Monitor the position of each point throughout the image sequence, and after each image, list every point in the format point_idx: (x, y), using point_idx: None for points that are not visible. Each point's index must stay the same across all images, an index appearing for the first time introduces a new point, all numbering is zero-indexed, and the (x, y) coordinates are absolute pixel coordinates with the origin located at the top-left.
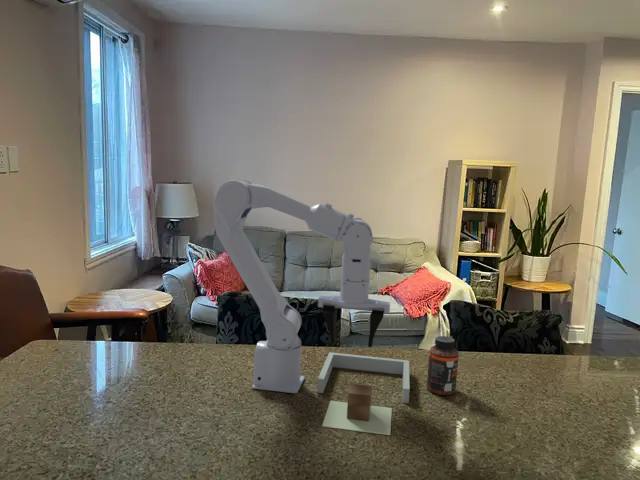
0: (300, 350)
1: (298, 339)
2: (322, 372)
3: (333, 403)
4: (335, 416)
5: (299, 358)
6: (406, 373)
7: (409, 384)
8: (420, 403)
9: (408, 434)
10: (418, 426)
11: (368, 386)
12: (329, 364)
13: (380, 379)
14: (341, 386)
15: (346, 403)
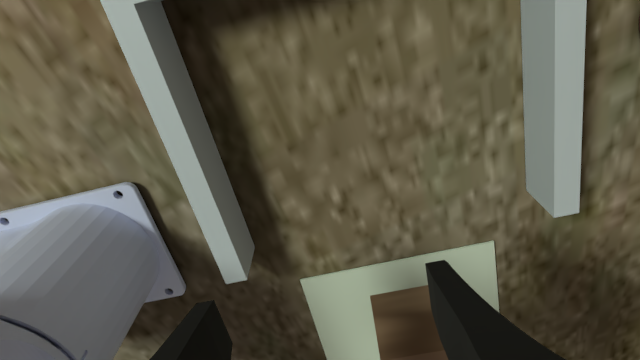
0: (93, 345)
1: (29, 357)
2: (211, 232)
3: (315, 290)
4: (349, 342)
5: (113, 324)
6: (569, 62)
7: (580, 174)
8: (591, 164)
9: (547, 335)
10: (575, 294)
11: (445, 354)
12: (191, 145)
13: (415, 26)
14: (287, 172)
15: (351, 274)
